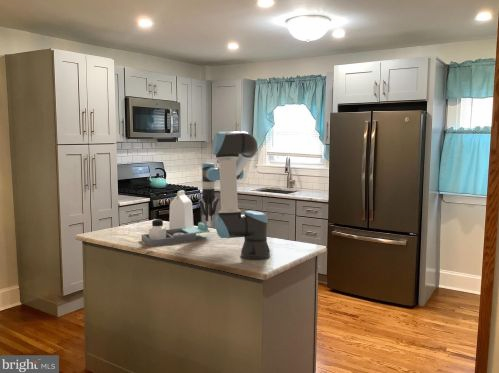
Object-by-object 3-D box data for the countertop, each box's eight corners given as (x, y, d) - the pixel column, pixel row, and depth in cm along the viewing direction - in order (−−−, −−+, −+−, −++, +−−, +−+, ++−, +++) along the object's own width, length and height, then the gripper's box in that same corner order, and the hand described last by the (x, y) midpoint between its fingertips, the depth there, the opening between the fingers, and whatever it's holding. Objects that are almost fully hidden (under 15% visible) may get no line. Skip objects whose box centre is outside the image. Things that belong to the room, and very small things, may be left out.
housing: (196, 240, 267) (196, 232, 267) (150, 246, 253) (150, 238, 253) (185, 235, 281) (185, 227, 280) (141, 240, 267) (141, 232, 266)
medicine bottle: (166, 239, 265) (166, 219, 263) (158, 242, 259) (158, 221, 257) (157, 237, 268) (156, 218, 267) (148, 240, 262) (148, 220, 261)
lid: (209, 231, 273) (209, 225, 273) (189, 234, 267) (189, 228, 266) (201, 227, 284) (201, 221, 283) (181, 230, 277) (181, 224, 277)
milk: (185, 233, 285) (184, 192, 281) (169, 232, 289) (168, 191, 285) (193, 229, 296) (193, 190, 293) (177, 228, 300) (177, 189, 296)
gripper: (215, 186, 283) (215, 223, 286) (196, 188, 276) (196, 226, 279) (220, 188, 276) (220, 226, 280) (201, 189, 270) (201, 228, 273)
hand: (208, 226), depth 279 cm, fingers closed
